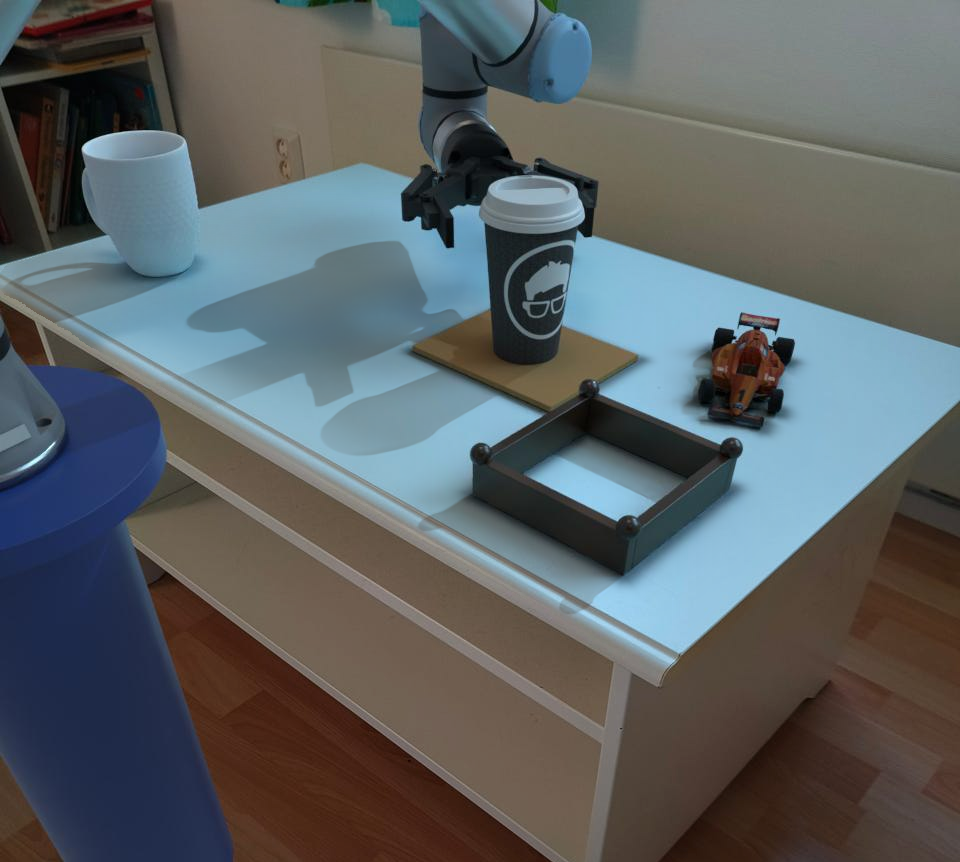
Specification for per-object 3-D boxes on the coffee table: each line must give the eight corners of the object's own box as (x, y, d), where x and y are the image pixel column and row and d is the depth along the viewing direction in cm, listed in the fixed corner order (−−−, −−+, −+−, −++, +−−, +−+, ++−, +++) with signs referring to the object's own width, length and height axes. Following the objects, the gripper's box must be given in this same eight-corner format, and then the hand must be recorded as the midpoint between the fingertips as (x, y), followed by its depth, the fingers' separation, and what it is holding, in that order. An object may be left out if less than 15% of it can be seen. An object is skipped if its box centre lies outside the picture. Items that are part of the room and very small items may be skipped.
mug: (69, 267, 104) (31, 145, 95) (135, 237, 111) (105, 120, 102) (168, 292, 100) (137, 165, 90) (230, 258, 107) (207, 138, 97)
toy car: (690, 418, 81) (698, 373, 78) (714, 340, 92) (723, 299, 89) (777, 432, 79) (789, 388, 76) (791, 351, 90) (802, 310, 87)
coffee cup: (579, 334, 91) (593, 176, 81) (565, 377, 85) (578, 212, 74) (489, 324, 93) (491, 168, 82) (468, 366, 86) (467, 202, 76)
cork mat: (411, 351, 90) (411, 345, 89) (502, 307, 97) (502, 302, 97) (550, 412, 81) (550, 406, 81) (638, 360, 89) (638, 354, 88)
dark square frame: (465, 495, 72) (464, 444, 68) (583, 421, 80) (588, 372, 77) (625, 580, 64) (633, 528, 61) (737, 488, 73) (749, 438, 69)
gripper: (577, 188, 103) (640, 258, 88) (363, 203, 99) (392, 278, 84) (583, 116, 98) (651, 176, 83) (357, 128, 94) (386, 194, 79)
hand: (520, 228), depth 84 cm, fingers open, 13 cm apart
